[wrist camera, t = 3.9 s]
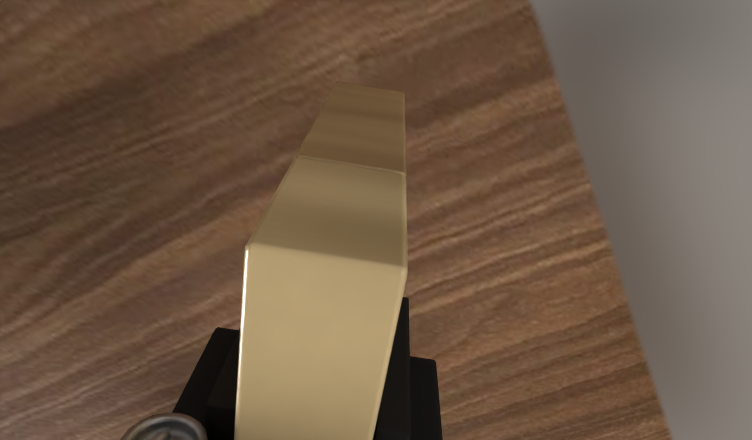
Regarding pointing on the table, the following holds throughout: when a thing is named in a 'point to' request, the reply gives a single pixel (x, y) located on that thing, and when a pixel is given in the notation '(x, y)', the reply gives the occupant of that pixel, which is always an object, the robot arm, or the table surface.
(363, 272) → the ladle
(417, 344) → the table surface
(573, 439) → the table surface
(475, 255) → the table surface
